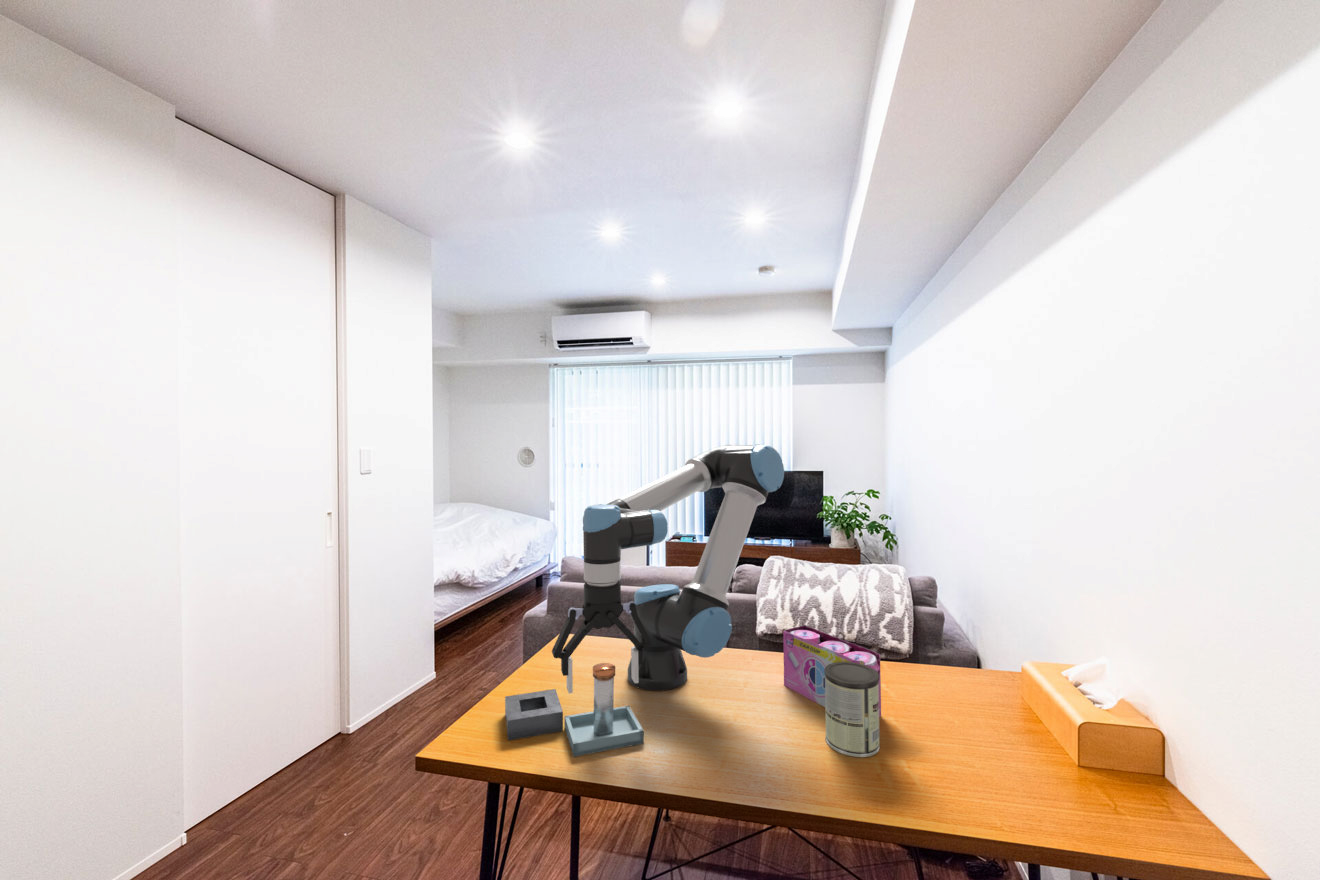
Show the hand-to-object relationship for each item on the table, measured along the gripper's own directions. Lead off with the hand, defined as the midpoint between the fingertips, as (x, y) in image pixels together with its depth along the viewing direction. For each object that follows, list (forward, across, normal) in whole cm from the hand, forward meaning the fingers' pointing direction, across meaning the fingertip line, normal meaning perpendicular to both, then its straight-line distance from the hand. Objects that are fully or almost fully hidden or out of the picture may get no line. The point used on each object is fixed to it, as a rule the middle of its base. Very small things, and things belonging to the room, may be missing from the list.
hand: (602, 685), depth 111 cm
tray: (+10, 0, 0) cm, 10 cm away
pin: (+9, 0, 0) cm, 9 cm away
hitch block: (+10, +13, -10) cm, 19 cm away
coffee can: (+10, -46, +19) cm, 51 cm away
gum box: (+10, -53, +2) cm, 54 cm away
